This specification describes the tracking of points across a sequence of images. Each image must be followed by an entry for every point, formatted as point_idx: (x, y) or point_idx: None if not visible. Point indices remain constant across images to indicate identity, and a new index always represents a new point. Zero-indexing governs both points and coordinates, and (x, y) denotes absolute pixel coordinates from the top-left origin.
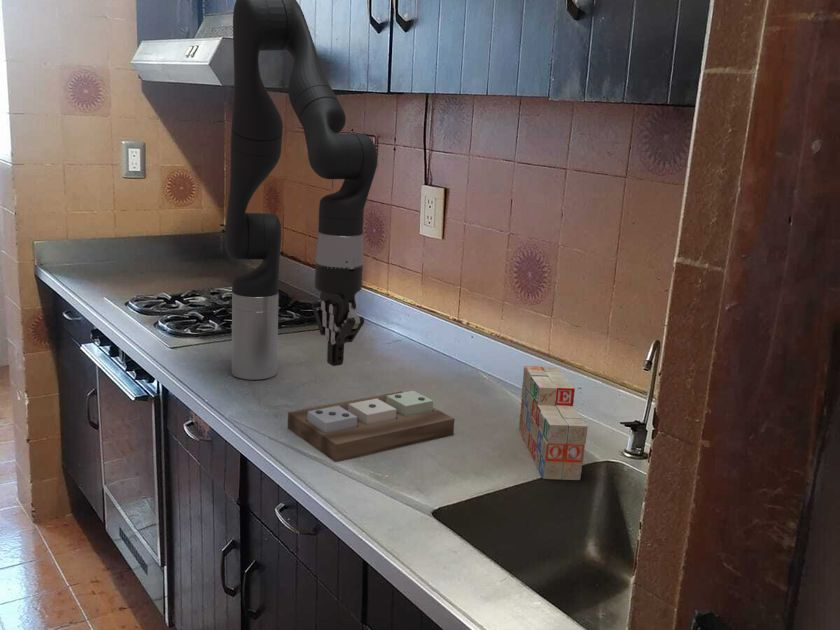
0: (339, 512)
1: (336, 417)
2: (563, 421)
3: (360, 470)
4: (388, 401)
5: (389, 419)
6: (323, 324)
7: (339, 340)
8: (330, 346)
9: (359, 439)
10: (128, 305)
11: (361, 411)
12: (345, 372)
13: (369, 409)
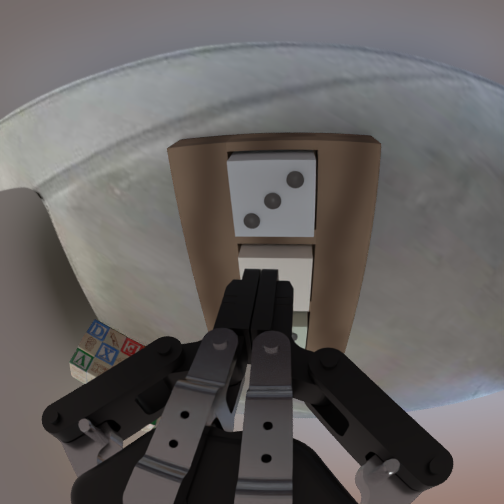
0: (50, 94)
1: (249, 198)
2: (78, 373)
3: (140, 164)
4: (300, 320)
5: None
6: (281, 401)
7: (154, 349)
8: (247, 319)
9: (176, 198)
10: None
11: (260, 257)
12: (475, 330)
13: None
